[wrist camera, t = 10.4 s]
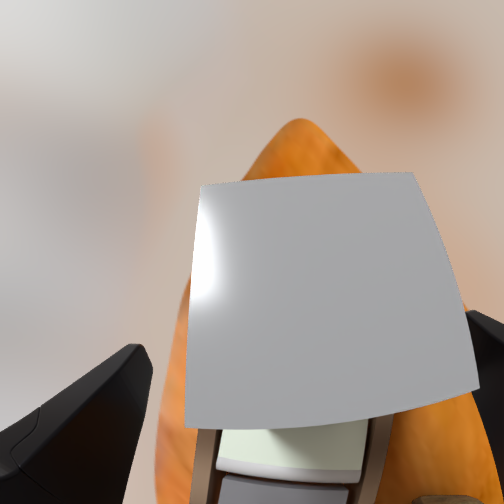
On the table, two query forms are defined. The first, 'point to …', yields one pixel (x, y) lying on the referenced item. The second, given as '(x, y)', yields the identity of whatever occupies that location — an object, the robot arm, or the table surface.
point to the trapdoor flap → (291, 464)
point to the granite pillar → (321, 304)
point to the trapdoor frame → (359, 494)
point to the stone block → (446, 499)
